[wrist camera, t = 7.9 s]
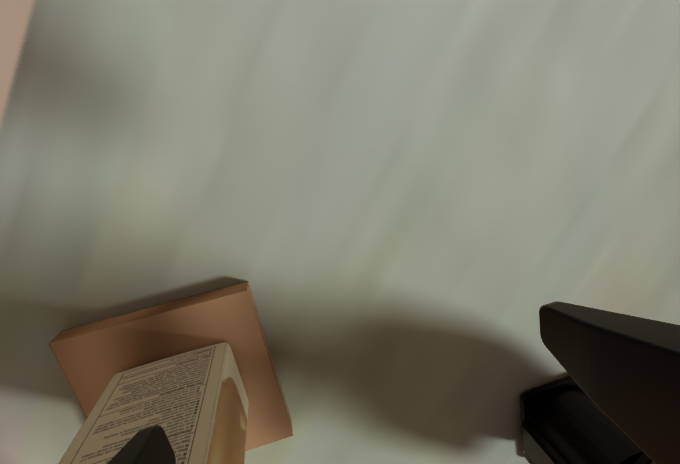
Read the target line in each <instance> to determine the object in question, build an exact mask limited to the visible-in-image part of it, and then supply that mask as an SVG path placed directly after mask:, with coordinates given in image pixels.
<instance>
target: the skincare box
mask: <svg viewBox="0 0 680 464" xmlns="http://www.w3.org/2000/svg"><path fill="white" fill-rule="evenodd" d="M248 404H249V403H248V398H247V395H246V391H245V388H244V385H243V382H242V379H241V376H240V373H239V370H238V367H237V364H236V361H235V358H234V356H233V353H232V350H231V347H230V345H229V344H228V343H226V342H223V343H219V344H215V345H211V346H207V347H204V348H200V349H196V350H193V351H189V352H186V353H182V354H179V355H175V356H172V357H168V358H165V359H162V360H158V361H155V362H152V363H149V364H145V365H142V366H139V367H136V368H133V369H130V370H126V371H123V372H120V373H117V374H115V375H114V376H113V378H112V379H111V381H110V382H109V384H108V385H107V387H106V389H105V390H104V392H103V393H102V395H101V397H100V398H99V400H98V401H97V403H96V405H95V406H94V408H93V409H92V411H91V413H90V414H89V416H88V417H87V419H86V421H85V422H84V424H83V425H82V427H81V429H80V430H79V432H78V433H77V435H76V437H75V438H74V440H73V441H72V443H71V445H70V446H69V448H68V449H67V451H66V452H65V454H64V456H63V457H62V459H61V460H60V462H59V464H107V463H108V462H109V461H110V460H111V459H112V458H113V457H114V456H115V455H116V454H117V453H118V452H119V451H120V450H121V449H122V448H123V447H124V446H125V445H126V444H127V442H128V441H129V440H130V439H131V438H132V437H133V436H134V435H135V434H136V433H137V432H138V431H140V430H142V429H145V428H148V427H152V426H155V425H160V426H161V427H162V428H163V429H164V431H165V433H166V435H167V438H168V440H169V442H170V444H171V446H172V449H173V451H174V453H175V458H176V464H244V457H245V443H246V431H247V418H248Z"/></svg>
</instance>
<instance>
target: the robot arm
mask: <svg viewBox="0 0 680 464" xmlns="http://www.w3.org/2000/svg"><path fill="white" fill-rule="evenodd" d="M539 318H540V334H541V339H542V341H543V343H544V345H545V346H546V347H547V348H548V350H549V351H550V352H551V353H552V354H553V356H554V357H555V358H556V359H557V360H558V361H559V363H560V364H561V365H562V366H563V367H564V369H565V370H566V371H567V372H568V373H569V375H570V376H571V377H568V378H565V379H562V380H559V381H556V382H553V383H550V384H547V385H545V386H542V387H539V388H536V389H533V390H530V391H527V392H525V393H523V394H522V395H521V397H520V403H521V415H522V424H521V430H522V441H523V450H524V451H525V458H526V460H527V461H528V462H529V463H530V464H680V325H676V324H671V323H665V322H660V321H655V320H650V319H645V318H640V317H635V316H630V315H625V314H620V313H614V312H609V311H604V310H599V309H594V308H589V307H584V306H579V305H574V304H569V303H563V302H552V303H549V304H546V305H543V306H541V307H540V310H539ZM107 464H176V458H175V453H174V451H173V449H172V446H171V444H170V442H169V440H168V438H167V435H166V433H165V431H164V429H163V428H162V427H161V426H160V425H155V426H152V427H148V428H145V429H142V430H140V431H138V432H137V433H136V434H135V435H134V436H133V437H132V438H131V439H130V440H129V441H128V442H127V444H126V445H125V446H124V447H123V448H122V449H121V450H120V451H119V452H118V453H117V454H116V455H115V456H114V457H113V458H112V459H111V460H110V461H109V462H108V463H107Z"/></svg>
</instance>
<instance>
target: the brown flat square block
mask: <svg viewBox="0 0 680 464" xmlns="http://www.w3.org/2000/svg"><path fill="white" fill-rule="evenodd" d="M223 342H226V343H228V344H229V345H230V347H231V350H232V353H233V356H234V358H235V361H236V364H237V367H238V370H239V373H240V376H241V379H242V382H243V385H244V388H245V391H246V395H247V398H248V403H249V404H248V418H247V431H246V443H245V451H246V450H249V449H253V448H256V447H259V446H262V445H265V444H268V443H271V442H274V441H278V440H281V439H284V438H287V437H290V436H293V434H292V421H291V417H290V414H289V411H288V407H287V404H286V401H285V398H284V395H283V391H282V388H281V385H280V382H279V379H278V375H277V372H276V369H275V366H274V363H273V359H272V356H271V353H270V350H269V347H268V343H267V340H266V337H265V334H264V331H263V327H262V324H261V321H260V318H259V314H258V311H257V308H256V305H255V302H254V298H253V295H252V292H251V289H250V286H249V282H248V281H247V282H244V283H240V284H236V285H232V286H229V287H225V288H221V289H217V290H214V291H210V292H206V293H202V294H199V295H195V296H191V297H187V298H184V299H180V300H176V301H172V302H169V303H165V304H161V305H157V306H154V307H150V308H146V309H142V310H139V311H135V312H131V313H127V314H124V315H120V316H116V317H112V318H109V319H105V320H101V321H97V322H94V323H90V324H86V325H82V326H79V327H75V328H71V329H67V330H64V331H61V332H60V333H59V334H58V335H57V336H56V337H55V338H54V339H53V340H52V341H51V342H50V343H49V345H50V347H51V349H52V351H53V353H54V355H55V357H56V358H57V360H58V362H59V364H60V366H61V368H62V370H63V372H64V374H65V376H66V378H67V380H68V382H69V384H70V386H71V388H72V389H73V391H74V393H75V395H76V397H77V399H78V401H79V403H80V405H81V407H82V409H83V411H84V413H85V415H86V417H88V416H89V414H90V413H91V411H92V409H93V408H94V406H95V405H96V403H97V401H98V400H99V398H100V397H101V395H102V393H103V392H104V390H105V389H106V387H107V385H108V384H109V382H110V381H111V379H112V378H113V376H114V375H115V374H117V373H120V372H123V371H126V370H130V369H133V368H136V367H139V366H142V365H145V364H149V363H152V362H155V361H158V360H162V359H165V358H168V357H172V356H175V355H179V354H182V353H186V352H189V351H193V350H196V349H200V348H204V347H207V346H211V345H215V344H219V343H223Z"/></svg>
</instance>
